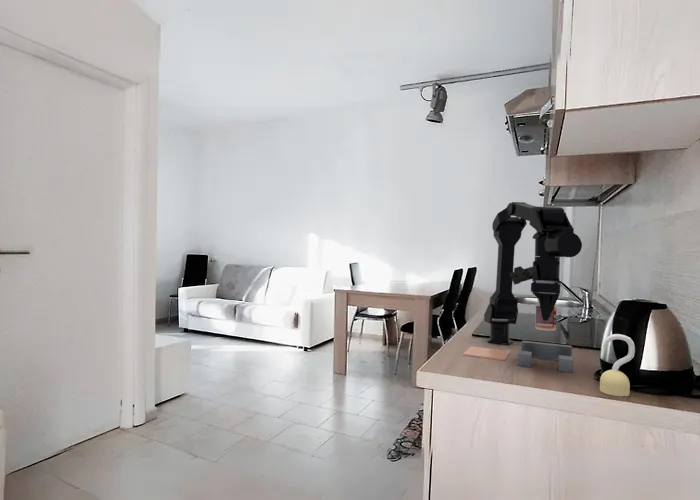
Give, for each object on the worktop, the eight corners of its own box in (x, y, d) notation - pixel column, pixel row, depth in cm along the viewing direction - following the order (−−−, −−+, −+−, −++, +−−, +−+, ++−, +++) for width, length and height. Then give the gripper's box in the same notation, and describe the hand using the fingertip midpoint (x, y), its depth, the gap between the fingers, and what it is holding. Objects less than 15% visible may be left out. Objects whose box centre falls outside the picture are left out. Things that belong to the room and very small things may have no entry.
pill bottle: (558, 331, 104) (559, 297, 104) (537, 330, 105) (538, 296, 105) (553, 328, 109) (554, 295, 109) (533, 327, 110) (534, 294, 110)
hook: (604, 394, 87) (605, 335, 87) (596, 387, 92) (597, 330, 92) (638, 398, 85) (639, 337, 85) (629, 390, 90) (630, 333, 90)
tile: (470, 347, 127) (470, 346, 127) (509, 352, 122) (509, 350, 122) (462, 355, 117) (462, 353, 117) (505, 360, 113) (505, 359, 113)
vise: (523, 351, 123) (523, 338, 124) (570, 357, 118) (571, 342, 118) (517, 365, 108) (518, 349, 108) (572, 372, 102) (572, 355, 102)
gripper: (516, 256, 119) (515, 312, 119) (508, 255, 102) (507, 321, 102) (561, 257, 114) (559, 315, 114) (560, 257, 97) (559, 325, 97)
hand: (545, 319), depth 107 cm, fingers closed on pill bottle, 5 cm apart
